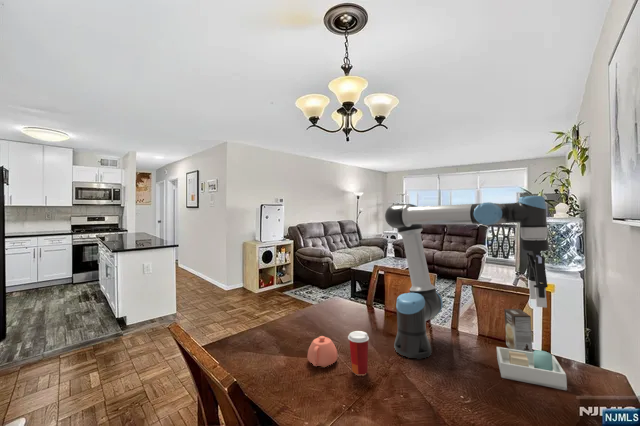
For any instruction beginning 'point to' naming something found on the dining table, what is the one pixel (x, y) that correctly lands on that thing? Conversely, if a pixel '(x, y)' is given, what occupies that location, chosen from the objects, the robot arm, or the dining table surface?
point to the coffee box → (518, 330)
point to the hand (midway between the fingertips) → (538, 302)
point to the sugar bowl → (322, 352)
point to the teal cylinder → (542, 360)
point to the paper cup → (359, 351)
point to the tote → (531, 370)
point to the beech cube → (518, 359)
